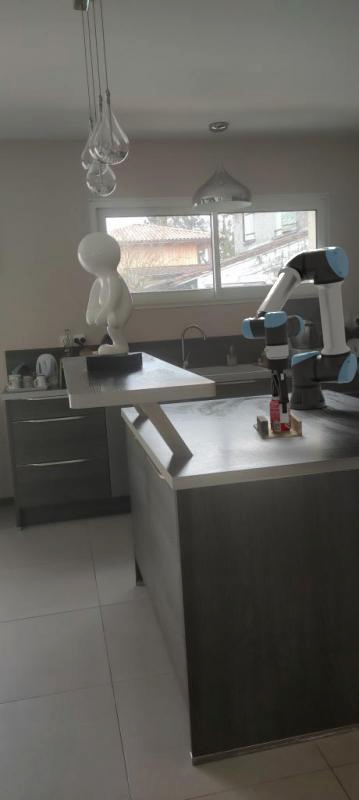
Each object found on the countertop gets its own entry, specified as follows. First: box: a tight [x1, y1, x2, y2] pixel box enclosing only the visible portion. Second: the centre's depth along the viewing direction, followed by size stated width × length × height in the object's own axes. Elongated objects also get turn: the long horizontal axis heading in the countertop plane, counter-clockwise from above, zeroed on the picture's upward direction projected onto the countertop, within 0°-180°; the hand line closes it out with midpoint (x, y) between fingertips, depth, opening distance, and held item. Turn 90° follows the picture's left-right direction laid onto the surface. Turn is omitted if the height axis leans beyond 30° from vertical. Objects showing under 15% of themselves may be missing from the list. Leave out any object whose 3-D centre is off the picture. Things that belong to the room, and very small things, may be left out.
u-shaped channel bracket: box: [253, 412, 303, 440], centre depth 206 cm, size 13×22×6 cm, turn 1°
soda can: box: [269, 396, 292, 433], centre depth 200 cm, size 7×7×12 cm
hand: (280, 418), depth 201 cm, fingers open, 13 cm apart
